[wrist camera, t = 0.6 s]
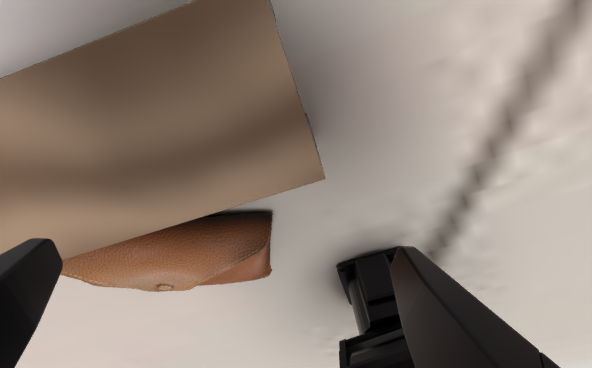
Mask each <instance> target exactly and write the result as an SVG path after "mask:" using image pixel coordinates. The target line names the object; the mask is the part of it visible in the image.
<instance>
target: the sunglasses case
mask: <svg viewBox="0 0 592 368" xmlns="http://www.w3.org/2000/svg"><path fill="white" fill-rule="evenodd" d="M272 215H273V214H268V213H252V214H237V215H227V216H217V217H200V218H197V219H194V220H190V221H187V222H184V223H181V224H177V225H174V226H171V227H168V228H164V229H161V230H158V231H155V232H151V233H148V234H145V235H142V236H138V237H135V238H132V239H129V240H125V241H122V242H119V243H116V244H112V245H109V246H106V247H103V248H99V249H96V250H93V251H90V252H86V253H83V254H80V255H77V256H73V257H70V258H67V259H64V260H62V261H63V268H62V271H61V274H60V275H64V276H67V277H71V278H74V279H78V280H82V281H84V282H87V283H89V284H91V285H95V286H101V287H118V288H132V289H140V290H143V291H152V292H153V291H155V292H160V291H184V290H190V289H192V288H193V287H195V286H197V285H214V284H215V285H216V284H226V283H235V282H243V281H251V280H256V279H261V278H265V277H267V276H269V275H270V273H271V271H272V269H271V266H270V236H271V229H272V228H271V226H272Z"/></svg>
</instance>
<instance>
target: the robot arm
mask: <svg viewBox="0 0 592 368" xmlns="http://www.w3.org/2000/svg"><path fill="white" fill-rule="evenodd" d="M62 268H63V261H62V258H61V256H60V254H59V252H58V250H57V248H56V246H55V244H54V242H53V241H52V240H51V239H48V238H32V239H29V240H27V241H25V242H23V243H21V244H19V245H17V246H15V247H14V248H12V249H10V250H8V251H6V252H4V253H2V254H0V368H15V366H16V364H17V362H18V361H19V359H20V357H21V355H22V353H23V352H24V350H25V348H26V346H27V345H28V343H29V341H30V339H31V337H32V335H33V334H34V332H35V330H36V328H37V326H38V324H39V322H40V319H41V317H42V315H43V313H44V310H45V308H46V306H47V303H48V301H49V299H50V297H51V294H52V292H53V290H54V287H55V285H56V283H57V281H58V278H59V276H60V274H61V271H62ZM337 272H338V274H339V277H340V279H341V282H342V285H343V287H344V290H345V293H346V295H347V298H348V300H349V303H350V304H351V305H352V306H353V310H354V314H355V318H356V322H357V326H358V330H359V334H360V335H359V336H356V337H353V338H350V339H347V340H346V339H344V340H341V341H339V345H340V351H339V360H340V368H560V367H559V366H558V365H557V364H555V363H554V362H553V361H552V360H551V359H549V358H548V357H547V356H546V355H544V354H543V353H542V352H539V350H538V349H537V348H536V347H535V346H533V345H532V344H531V343H530V342H529V341H527V340H526V339H525V338H524V337H523V336H521V335H520V334H519V333H518V332H517V331H515V330H514V329H513V328H512V327H511V326H509V325H508V324H507V323H506V322H505V321H503V320H502V319H501V318H500V317H498V316H497V315H496V314H495V313H494V312H492V311H491V310H490V309H489V308H488V307H486V306H485V305H484V304H483V303H482V302H480V301H479V300H478V299H477V298H476V297H474V296H473V295H472V294H471V293H470V292H468V291H467V290H466V289H465V288H463V287H462V286H461V285H460V284H459V283H457V282H456V281H455V280H454V279H453V278H451V277H450V276H449V275H448V274H447V273H445V272H444V271H443V270H442V269H441V268H439V267H438V266H437V265H436V264H435V263H433V262H432V261H431V260H430V259H428V258H427V257H426V256H425V255H424V254H422V253H421V252H420V251H419V250H418V249H416V248H415V247H411V246H401V247H399V248H395V249H392V250H388V251H384V252H381V253H377V254H373V255H370V256H366V257H362V258H359V259H355V260H351V261H348V262H344V263H340V264H338V265H337Z"/></svg>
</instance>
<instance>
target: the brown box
mask: <svg viewBox="0 0 592 368" xmlns="http://www.w3.org/2000/svg"><path fill="white" fill-rule="evenodd" d="M323 179H325V175H324V172H323V168H322V164H321V161H320V157H319V153H318V150H317V146H316V143H315V139H314V136H313V133H312V130H311V127H310V123H309V120H308V117H307V114H304V110H303V107H302V104H301V101H300V98H299V95H298V92H297V89H296V86H295V83H294V80H293V77H292V74H291V71H290V68H289V64H288V61H287V58H286V55H285V52H284V49H283V46H282V43H281V40H280V37H279V34H278V31H277V27H276V20H275V15H274V12H273V9H272V6H271V2H270V0H196V1H193V2H191V3H188V4H186V5H183V6H181V7H178V8H176V9H173V10H171V11H168V12H166V13H163V14H161V15H158V16H156V17H153V18H151V19H148V20H146V21H143V22H141V23H138V24H136V25H133V26H131V27H128V28H126V29H123V30H121V31H118V32H116V33H113V34H111V35H108V36H106V37H103V38H101V39H98V40H96V41H93V42H91V43H88V44H86V45H83V46H81V47H78V48H76V49H73V50H71V51H68V52H66V53H63V54H61V55H58V56H56V57H53V58H51V59H48V60H46V61H43V62H41V63H38V64H36V65H33V66H31V67H28V68H26V69H23V70H21V71H18V72H16V73H13V74H11V75H8V76H6V77H3V78H1V79H0V254H2V253H4V252H6V251H8V250H10V249H12V248H14V247H15V246H17V245H19V244H21V243H23V242H25V241H27V240H29V239H32V238H48V239H51V240H52V241H53V242H54V244H55V246H56V248H57V250H58V252H59V254H60V256H61V258H62V260H64V259H67V258H70V257H73V256H77V255H80V254H83V253H86V252H90V251H93V250H96V249H99V248H103V247H106V246H109V245H112V244H116V243H119V242H122V241H125V240H129V239H132V238H135V237H138V236H142V235H145V234H148V233H151V232H155V231H158V230H161V229H164V228H168V227H171V226H174V225H177V224H181V223H184V222H187V221H190V220H194V219H197V218H200V217H203V216H207V215H210V214H213V213H216V212H219V211H223V210H226V209H229V208H232V207H236V206H239V205H242V204H245V203H249V202H252V201H255V200H258V199H262V198H265V197H268V196H271V195H275V194H278V193H281V192H284V191H288V190H291V189H294V188H297V187H301V186H304V185H307V184H310V183H314V182H317V181H320V180H323Z"/></svg>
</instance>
